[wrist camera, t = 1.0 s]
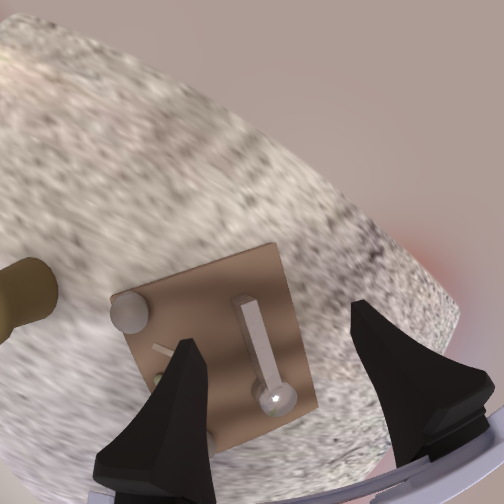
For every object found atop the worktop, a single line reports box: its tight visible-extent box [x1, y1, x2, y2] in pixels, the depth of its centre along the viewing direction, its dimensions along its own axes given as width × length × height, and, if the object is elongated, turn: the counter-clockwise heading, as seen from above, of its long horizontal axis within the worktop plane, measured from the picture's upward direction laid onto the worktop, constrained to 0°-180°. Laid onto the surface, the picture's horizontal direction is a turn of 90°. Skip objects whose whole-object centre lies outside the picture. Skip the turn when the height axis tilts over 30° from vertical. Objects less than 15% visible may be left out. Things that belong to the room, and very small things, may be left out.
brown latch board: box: [110, 243, 319, 458], centre depth 26 cm, size 20×16×4 cm
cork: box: [0, 257, 58, 345], centre depth 16 cm, size 6×6×11 cm
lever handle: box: [231, 294, 297, 417], centre depth 26 cm, size 12×4×3 cm, turn 16°
